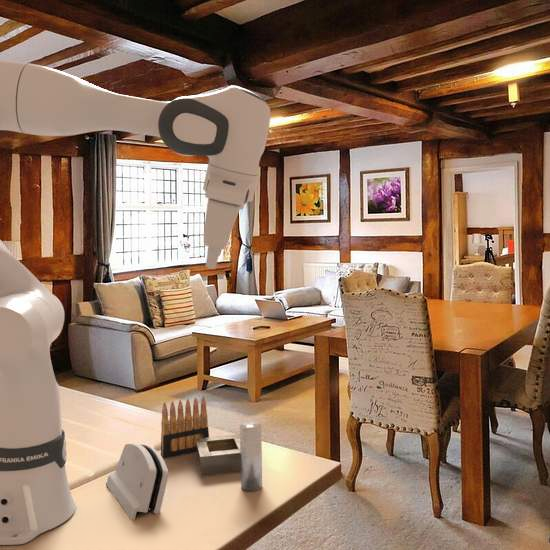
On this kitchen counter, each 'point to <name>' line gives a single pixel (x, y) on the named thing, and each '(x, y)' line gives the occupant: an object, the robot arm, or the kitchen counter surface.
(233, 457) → the square nut block
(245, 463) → the pin
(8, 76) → the robot arm
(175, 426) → the ammunition clip
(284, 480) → the kitchen counter surface
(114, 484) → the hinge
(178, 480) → the kitchen counter surface
